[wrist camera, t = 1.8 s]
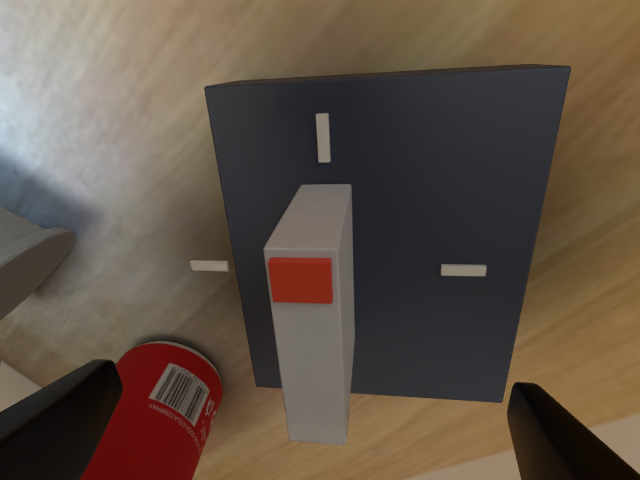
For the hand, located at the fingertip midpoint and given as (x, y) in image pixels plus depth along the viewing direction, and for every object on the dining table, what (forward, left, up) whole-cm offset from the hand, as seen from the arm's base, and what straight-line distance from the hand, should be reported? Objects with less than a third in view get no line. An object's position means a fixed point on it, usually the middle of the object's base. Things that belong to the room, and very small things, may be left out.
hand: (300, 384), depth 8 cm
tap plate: (+2, 0, -8) cm, 8 cm away
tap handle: (0, 0, -5) cm, 5 cm away
